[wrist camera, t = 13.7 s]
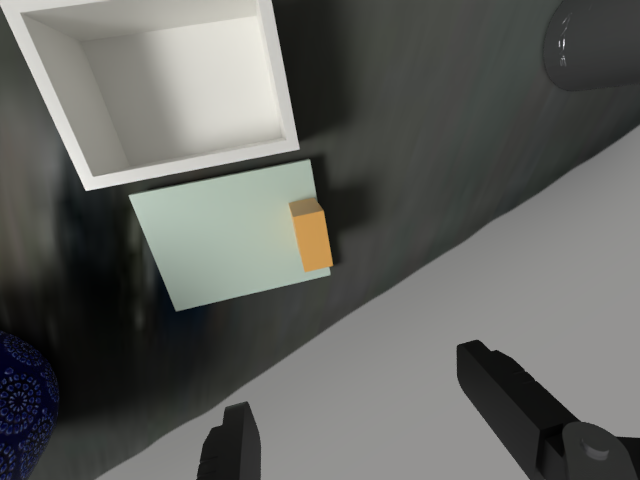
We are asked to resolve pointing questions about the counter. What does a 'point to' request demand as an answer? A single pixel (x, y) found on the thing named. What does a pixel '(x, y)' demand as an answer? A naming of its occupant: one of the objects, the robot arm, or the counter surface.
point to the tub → (157, 82)
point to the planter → (24, 406)
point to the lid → (236, 233)
